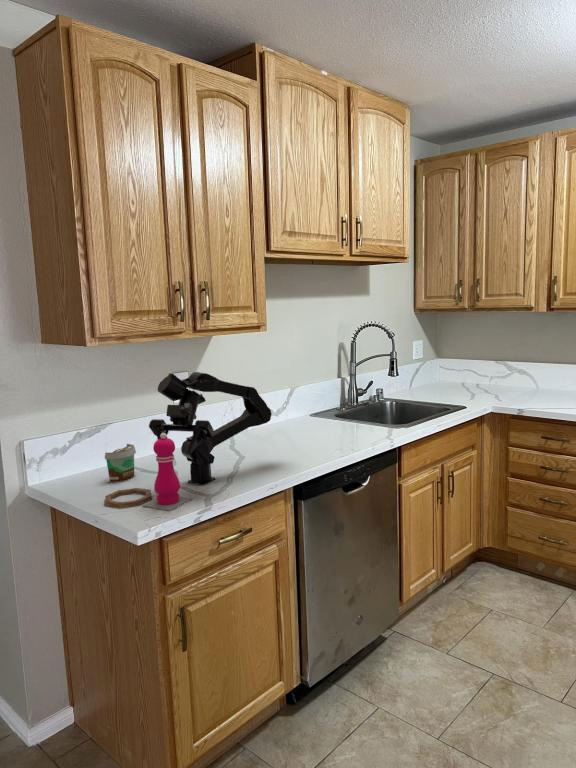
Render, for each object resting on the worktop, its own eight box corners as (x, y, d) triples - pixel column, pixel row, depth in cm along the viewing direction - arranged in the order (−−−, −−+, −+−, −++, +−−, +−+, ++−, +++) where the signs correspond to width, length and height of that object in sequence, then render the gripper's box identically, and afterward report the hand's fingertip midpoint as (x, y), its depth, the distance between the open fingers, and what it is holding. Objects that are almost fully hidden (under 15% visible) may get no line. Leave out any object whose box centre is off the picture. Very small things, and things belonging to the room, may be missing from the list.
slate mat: (165, 495, 176) (165, 494, 176) (192, 499, 172) (192, 498, 171) (142, 506, 168) (142, 505, 168) (170, 511, 163) (170, 509, 163)
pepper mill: (173, 506, 165) (168, 436, 162) (150, 504, 167) (145, 435, 164) (185, 497, 172) (180, 430, 169) (163, 496, 174) (158, 429, 171)
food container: (122, 484, 189) (120, 454, 187) (107, 483, 191) (104, 452, 190) (145, 473, 200) (143, 444, 199) (130, 472, 202) (127, 443, 201)
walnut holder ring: (127, 490, 183) (127, 486, 183) (160, 495, 177) (160, 491, 176) (95, 504, 172) (95, 500, 171) (129, 510, 165) (129, 505, 165)
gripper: (149, 392, 177) (134, 437, 168) (208, 393, 173) (195, 439, 164) (162, 413, 186) (148, 457, 177) (218, 414, 182) (207, 459, 173)
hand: (174, 453), depth 173 cm, fingers open, 9 cm apart
